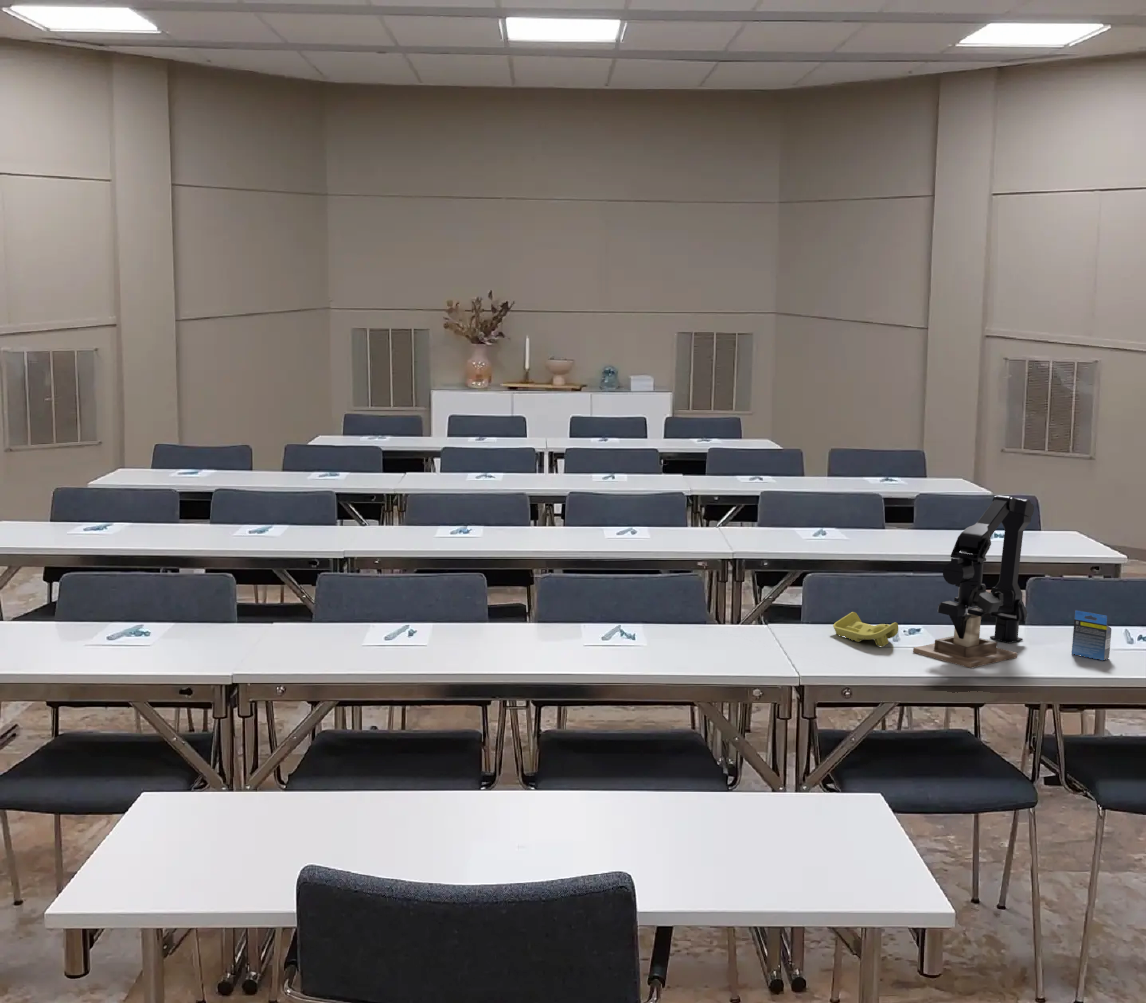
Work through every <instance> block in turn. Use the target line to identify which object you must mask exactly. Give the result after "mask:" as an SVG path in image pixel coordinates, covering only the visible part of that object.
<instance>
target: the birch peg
mask: <svg viewBox="0 0 1146 1003" xmlns="http://www.w3.org/2000/svg"><path fill="white" fill-rule="evenodd" d="M968 615H971V617H970V618H969V619H968V620H967V622H966V628H965V634H964V638H963V639H960V638H959V636H958V634H957V631H956V629H955V628H954V631H953V632H954V633H953V636H954V644H958V645H962V646H965V647H969V646H974V645H979V638H980V635H981V622H982V621H981V620H982V619H981V616H976V615H972V614H968Z"/></svg>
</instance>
